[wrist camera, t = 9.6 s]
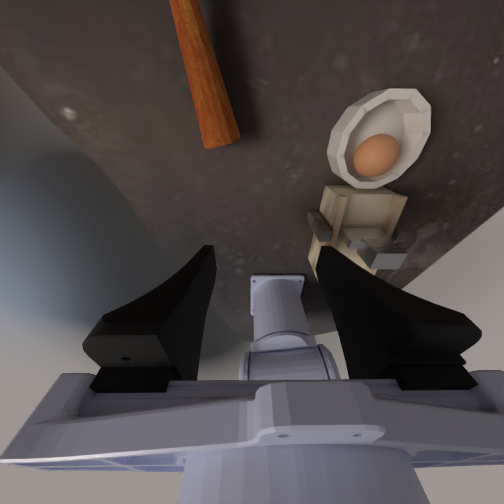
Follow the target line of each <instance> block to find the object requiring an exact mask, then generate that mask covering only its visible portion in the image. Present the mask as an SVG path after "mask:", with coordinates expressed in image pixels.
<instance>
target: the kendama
mask: <svg viewBox="0 0 504 504" xmlns="http://www.w3.org/2000/svg"><path fill="white" fill-rule="evenodd" d="M169 1H170V5H171V9H172V13H173V18H174V22H175V26H176V30H177V35H178V39H179V43H180V47H181V51H182V56H183V60H184V64H185V68H186V73H187V77H188V81H189V85H190V90H191V94H192V98H193V102H194V107H195V111H196V115H197V119H198V124H199V128H200V132H201V136H202V141H203V145H204V148H215V147H220V146H224V145H227V144H230V143H233V142H235V141H238V140H239V139H241V136H240V133H239V130H238V126H237V123H236V120H235V117H234V114H233V111H232V107H231V104H230V101H229V98H228V95H227V92H226V88H225V85H224V82H223V79H222V76H221V73H220V69H219V66H218V63H217V60H216V57H215V53H214V50H213V47H212V44H211V41H210V38H209V34H208V31H207V28H206V25H205V22H204V19H203V15H202V12H201V9H200V6H199V3H198V0H169Z"/></svg>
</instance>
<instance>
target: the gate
mask: <svg viewBox="0 0 504 504" xmlns="http://www.w3.org/2000/svg"><path fill="white" fill-rule="evenodd" d="M338 235H339V236H340V237H341V239H342V240H343V241H344V243H345V244H346V245H347V247H348V248H349V249H357V251H356V253H357V254H358V255H359V256H360V258H361V259H362V260H363V261H364V263H365V264H366V265H367V266H368V268H369V269H399V267H400V266H401V264H402V263H403V261H404V259H405V258H406V256H407V255H408V253H407V252H406V251H404V250H403V249H402V248H401V247H400V246H398V245H397V244H396V243H395V242H396V241H395V240H394V239H393V238H391V237H390V236H389V235H388V234H387V233H385V232H384V231H383V230H382V229H381V228H340V231H339V234H338Z"/></svg>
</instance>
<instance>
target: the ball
mask: <svg viewBox="0 0 504 504" xmlns="http://www.w3.org/2000/svg"><path fill="white" fill-rule="evenodd" d="M399 150H400V149H399V144H398V142H397V140H396V139H395V138H394V137H393V136H391V135H388V134H377V135H373V136H371V137H369V138H367V139H366V140H364V141H363V142H362V143H361V144H360V145H359V147H358V148H357V150H356V152H355V154H354V159H353V163H354V167H355V169H356V171H357V172H358V173H359V174H361V175H363V176H366V177H375V176H379V175H381V174H384V173H385V172H387V171H388V170H389V169H390V168H392V166H393V165H394V164H395V162H396V161H397V159H398V156H399Z"/></svg>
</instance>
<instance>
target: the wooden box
mask: <svg viewBox="0 0 504 504" xmlns="http://www.w3.org/2000/svg"><path fill="white" fill-rule="evenodd" d="M407 198H408V197H406V196H403V195H400V194H396V193H394V192H392V191H390V190H388V189H387V188H385V187H383V186H380V187H378V188H376V189H364V188H355V187H353V186H352V185H325V189H324V193H323V197H322V201H321V205H320V210H319V213H318V211H317V210H308V214H307V219H306V220H307V221H308V223H309V225H310V227H311V228H312V230H313V232H314V235H313V239H312V243H311V248H310V252H309V256H308V259H309V262H310V264H311V266H312V269H313V271H314V272H315V276H316V278H317V275H316V271H315V267H316V264H317V260H318V256H319V253H320V249H321V246H332V247H334V248H335V249H337V250H338V251H339V252H341V253H342V254H344V255H345V256H346V257H348V258H349V259H350V260H352V261H353V262H355V263H356V264H357V265H359V266H360V267H362V268H363V269H365V270H366V271H368V272H370V273H371V274H373V275H374V276H375V273H376V271H377V269H369V268H368V266H367V265H366V264H365V263H364V261H363V260H362V259H361V258H360V256H359V255H358V254H357V253H356V251H357V249H349V248H348V247H347V245H346V244H345V243H344V241H343V240H342V239H341V237H340V236H339V235H338V234H339V231H340V228H381V229H382V230H383V231H384V232H385V233H387V234H388V235H389V236H390V237H391V238H393V239H394V240H395V241H396V242H405V241H406V239H407V238H408V236H409V234H410V232H411V231H409V230H408V229H407V228H405V227H404V226H402V225H401V224H399V223H398V219H399V217H400V215H401V212H402V210H403V208H404V205H405V203H406V201H407ZM317 280H318V278H317Z"/></svg>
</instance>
